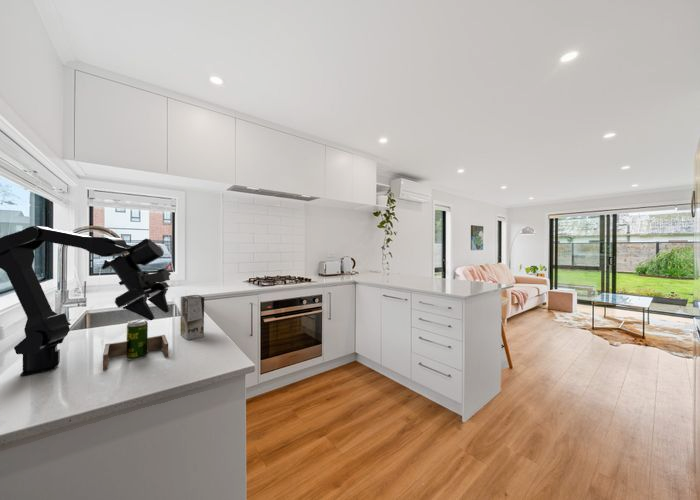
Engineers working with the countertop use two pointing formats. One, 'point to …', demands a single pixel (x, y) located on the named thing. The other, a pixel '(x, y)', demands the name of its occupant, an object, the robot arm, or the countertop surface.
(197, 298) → the coffee box
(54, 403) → the countertop surface
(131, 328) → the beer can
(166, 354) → the wooden u-shaped frame
